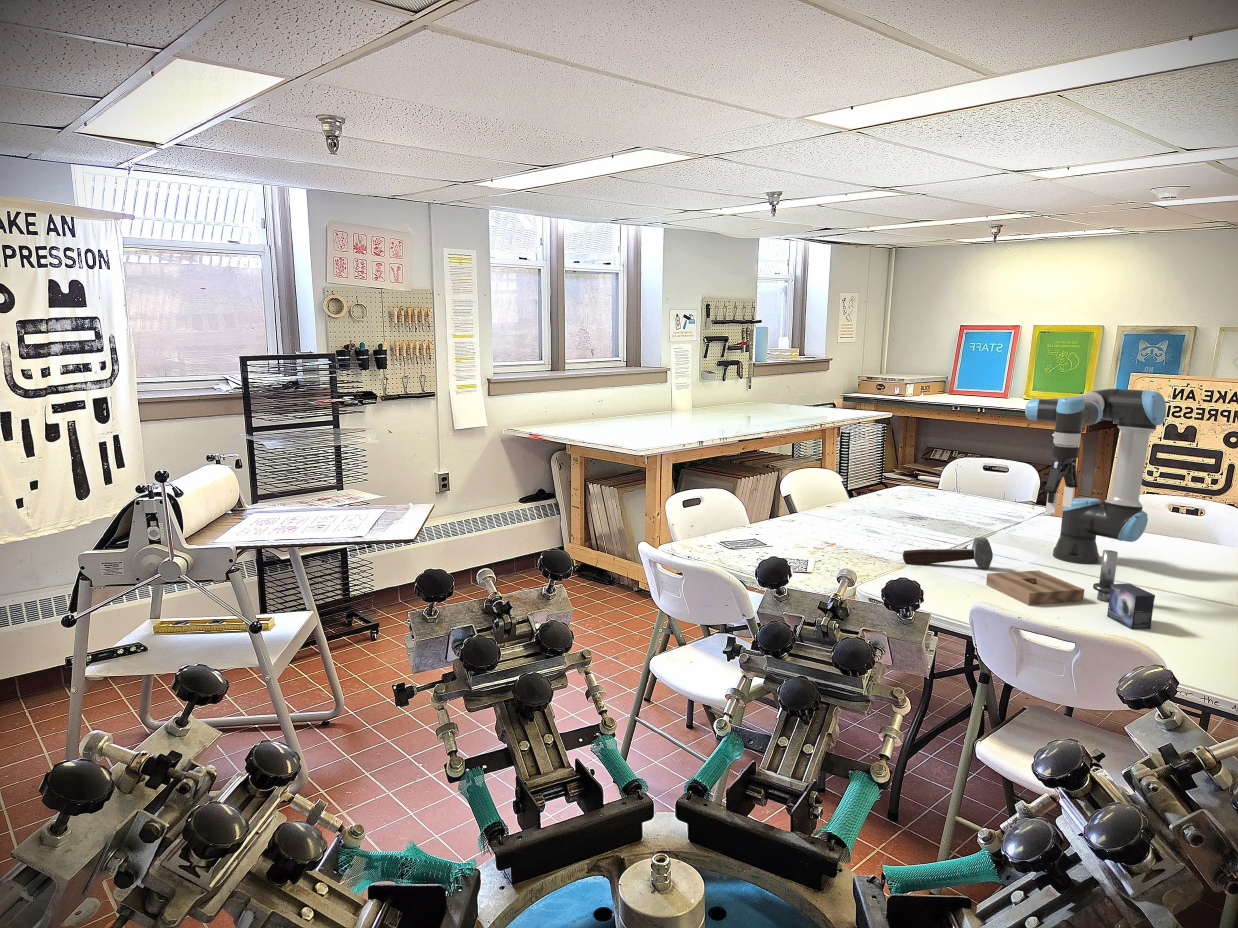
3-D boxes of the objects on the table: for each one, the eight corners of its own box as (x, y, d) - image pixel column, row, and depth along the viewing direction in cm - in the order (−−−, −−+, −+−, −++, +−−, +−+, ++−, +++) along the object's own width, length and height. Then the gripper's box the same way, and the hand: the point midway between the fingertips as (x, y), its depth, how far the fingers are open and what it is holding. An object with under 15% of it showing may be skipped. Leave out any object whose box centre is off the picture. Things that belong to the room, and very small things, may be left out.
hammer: (905, 574, 283) (993, 569, 277) (903, 544, 282) (991, 539, 275) (903, 570, 288) (989, 565, 282) (901, 541, 286) (988, 536, 280)
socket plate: (1037, 581, 265) (1038, 570, 265) (1083, 601, 246) (1084, 589, 245) (986, 584, 261) (987, 573, 260) (1028, 605, 242) (1029, 593, 241)
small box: (1104, 616, 233) (1109, 583, 232) (1125, 615, 234) (1129, 582, 232) (1130, 629, 223) (1135, 595, 221) (1151, 629, 224) (1156, 594, 222)
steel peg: (1104, 595, 252) (1110, 548, 249) (1122, 603, 245) (1129, 554, 242) (1086, 596, 250) (1092, 549, 248) (1104, 604, 244) (1110, 555, 241)
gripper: (1068, 440, 260) (1061, 502, 264) (1037, 447, 244) (1030, 512, 248) (1093, 443, 254) (1085, 506, 258) (1063, 450, 238) (1055, 517, 242)
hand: (1058, 509), depth 253 cm, fingers open, 13 cm apart
